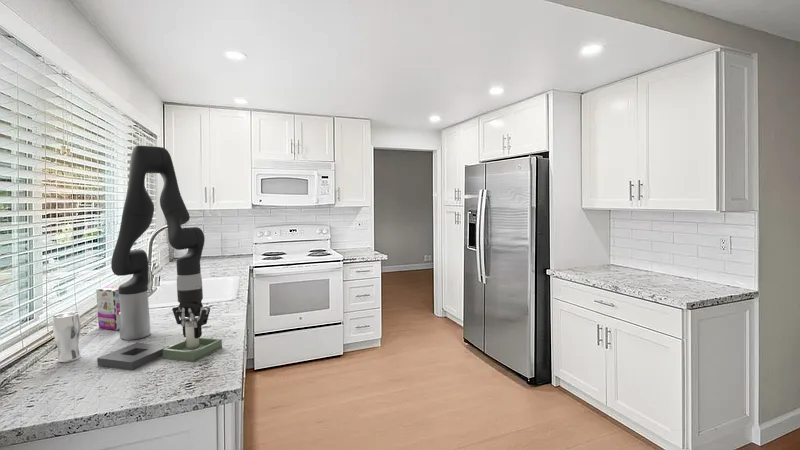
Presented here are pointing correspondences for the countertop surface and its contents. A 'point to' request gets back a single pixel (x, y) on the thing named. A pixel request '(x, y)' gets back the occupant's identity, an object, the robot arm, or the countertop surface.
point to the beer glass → (67, 336)
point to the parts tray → (181, 353)
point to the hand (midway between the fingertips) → (192, 336)
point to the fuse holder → (132, 356)
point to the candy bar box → (108, 308)
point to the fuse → (191, 336)
